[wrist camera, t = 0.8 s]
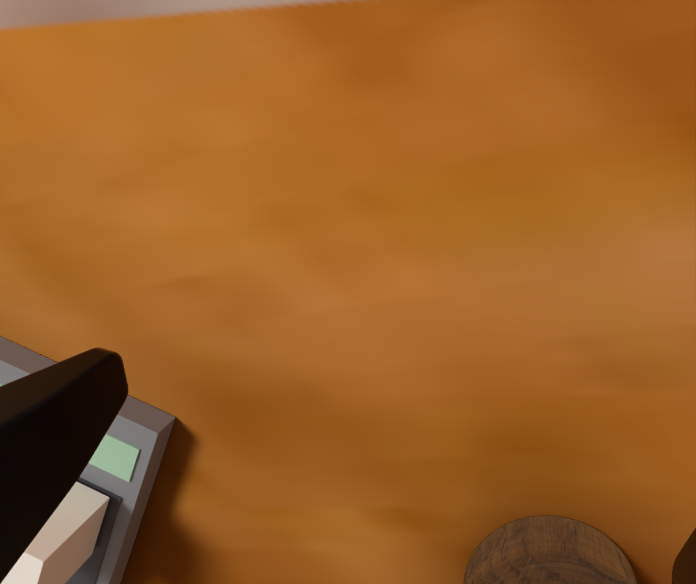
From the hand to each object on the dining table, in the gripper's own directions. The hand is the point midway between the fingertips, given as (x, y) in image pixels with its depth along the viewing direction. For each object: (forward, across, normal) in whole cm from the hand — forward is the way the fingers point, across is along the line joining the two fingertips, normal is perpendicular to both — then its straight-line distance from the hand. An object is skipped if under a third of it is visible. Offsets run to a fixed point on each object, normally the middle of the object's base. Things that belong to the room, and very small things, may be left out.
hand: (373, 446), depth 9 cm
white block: (+5, +14, +15) cm, 21 cm away
